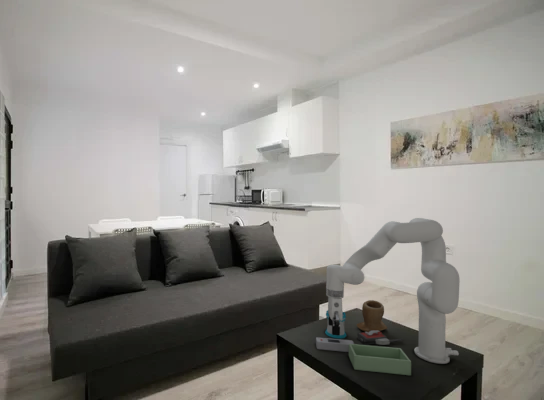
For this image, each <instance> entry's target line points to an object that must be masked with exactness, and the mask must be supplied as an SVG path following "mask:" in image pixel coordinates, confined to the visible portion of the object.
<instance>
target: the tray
mask: <svg viewBox="0 0 544 400" xmlns="http://www.w3.org/2000/svg"><path fill="white" fill-rule="evenodd" d="M348 358H349V360H350V363H351V365H352V368H353V370H355V371H356V370H357V371H365V372H374V373H375V372H377V373H383V374H391V375H393V374H394V375H403V376H405V375H406V376H412V360H411V359H410V358H409V357H408V355H407V354H406V353H405V351H404V350H403V349H402V348H400V347H391V346H382V345H379V346H378V345H371V344H368V345H366V344H357V343H354V344H349V352H348Z"/></svg>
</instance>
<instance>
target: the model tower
mask: <svg viewBox="0 0 544 400" xmlns="http://www.w3.org/2000/svg"><path fill="white" fill-rule="evenodd" d="M346 315H347V314H346V313H345V311H343V310H342V317H343V320H342V321H341V320H340V319H339V322H340V335H332V326H330V325H329V324H328V322H329V317H330V316H329V313H328V310H326V311H325V316H326V317H325V318H326V319H327V325H326V326H327V328H326V329H325V331H324V333H325V335H326V336H328V337H329V338H332V339H341V340H342V339H345V338H347V333H346V331H345V321H346V319H347V316H346Z"/></svg>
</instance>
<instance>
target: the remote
mask: <svg viewBox="0 0 544 400" xmlns="http://www.w3.org/2000/svg"><path fill="white" fill-rule="evenodd" d="M349 344H355V342H354V341H353V340H350V339H342V338H341V339H338V338H331V337H329V338H327V337H317V336H316V337H315V346H316V349H317V350H323V351H336V352H345V353H349Z"/></svg>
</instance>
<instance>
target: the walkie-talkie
mask: <svg viewBox="0 0 544 400" xmlns="http://www.w3.org/2000/svg"><path fill="white" fill-rule="evenodd" d="M357 339H358V341H360V342H361V343H362V344H363V345H379V346H385V345H390V344H391V343H397V342H402V341H404V339H403V338H394V339H388V338H387V336H386V335H385V334H384V333H382V331H378V330H372V331H370V332H365V331H364V332H358V333H357Z"/></svg>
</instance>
